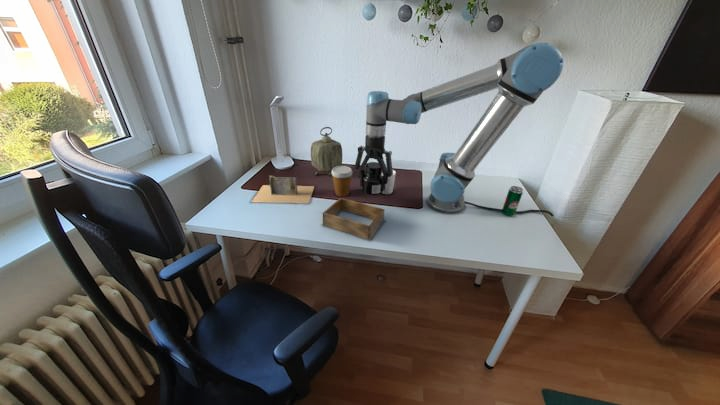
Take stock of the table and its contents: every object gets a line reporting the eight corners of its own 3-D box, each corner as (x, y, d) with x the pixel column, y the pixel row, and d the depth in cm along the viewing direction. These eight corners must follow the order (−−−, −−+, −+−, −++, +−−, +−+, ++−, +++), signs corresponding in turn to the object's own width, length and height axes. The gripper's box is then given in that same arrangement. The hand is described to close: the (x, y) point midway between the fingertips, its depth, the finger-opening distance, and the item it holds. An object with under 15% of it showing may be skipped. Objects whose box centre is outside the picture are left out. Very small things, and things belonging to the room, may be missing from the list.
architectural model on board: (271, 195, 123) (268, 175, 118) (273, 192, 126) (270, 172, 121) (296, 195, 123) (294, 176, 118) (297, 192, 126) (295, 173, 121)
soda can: (507, 217, 112) (516, 191, 106) (498, 211, 116) (507, 186, 110) (517, 216, 113) (526, 190, 107) (508, 209, 117) (517, 184, 111)
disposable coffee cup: (343, 200, 121) (343, 175, 115) (327, 194, 125) (326, 170, 119) (356, 192, 127) (356, 169, 121) (341, 186, 132) (340, 163, 126)
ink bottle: (376, 198, 111) (378, 171, 105) (358, 193, 114) (358, 166, 108) (386, 189, 118) (388, 163, 112) (368, 184, 122) (369, 159, 116)
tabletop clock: (334, 168, 151) (333, 123, 139) (344, 173, 145) (343, 127, 133) (312, 174, 143) (308, 127, 131) (321, 180, 137) (318, 131, 125)
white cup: (396, 193, 128) (398, 174, 123) (381, 196, 125) (383, 176, 120) (389, 186, 134) (390, 167, 129) (374, 188, 131) (375, 169, 126)
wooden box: (383, 221, 107) (384, 209, 104) (369, 240, 97) (370, 227, 94) (340, 208, 115) (340, 197, 112) (323, 225, 104) (322, 213, 101)
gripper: (405, 137, 102) (399, 189, 114) (354, 128, 110) (353, 178, 122) (399, 142, 97) (393, 197, 108) (345, 133, 105) (345, 185, 116)
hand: (372, 187), depth 115 cm, fingers closed on ink bottle, 9 cm apart
